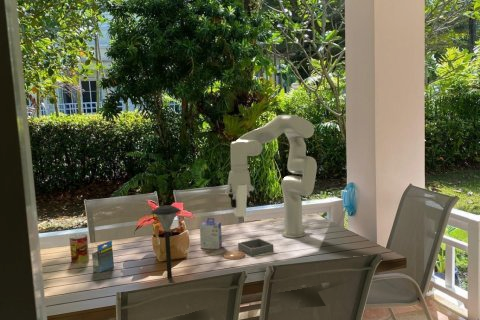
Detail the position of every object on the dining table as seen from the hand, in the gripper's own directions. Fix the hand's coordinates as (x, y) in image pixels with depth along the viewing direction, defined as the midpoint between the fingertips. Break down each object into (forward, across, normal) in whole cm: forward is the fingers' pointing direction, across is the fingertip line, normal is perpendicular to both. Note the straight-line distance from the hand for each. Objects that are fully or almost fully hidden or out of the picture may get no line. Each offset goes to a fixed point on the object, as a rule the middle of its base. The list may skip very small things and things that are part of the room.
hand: (240, 205), depth 220 cm
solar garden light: (+24, +39, +6) cm, 47 cm away
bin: (+23, -8, 0) cm, 25 cm away
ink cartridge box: (+24, +6, -18) cm, 30 cm away
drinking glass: (+5, 0, 0) cm, 5 cm away
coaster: (+23, +4, 0) cm, 24 cm away
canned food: (+24, +65, -39) cm, 79 cm away
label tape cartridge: (+24, +59, -21) cm, 67 cm away
